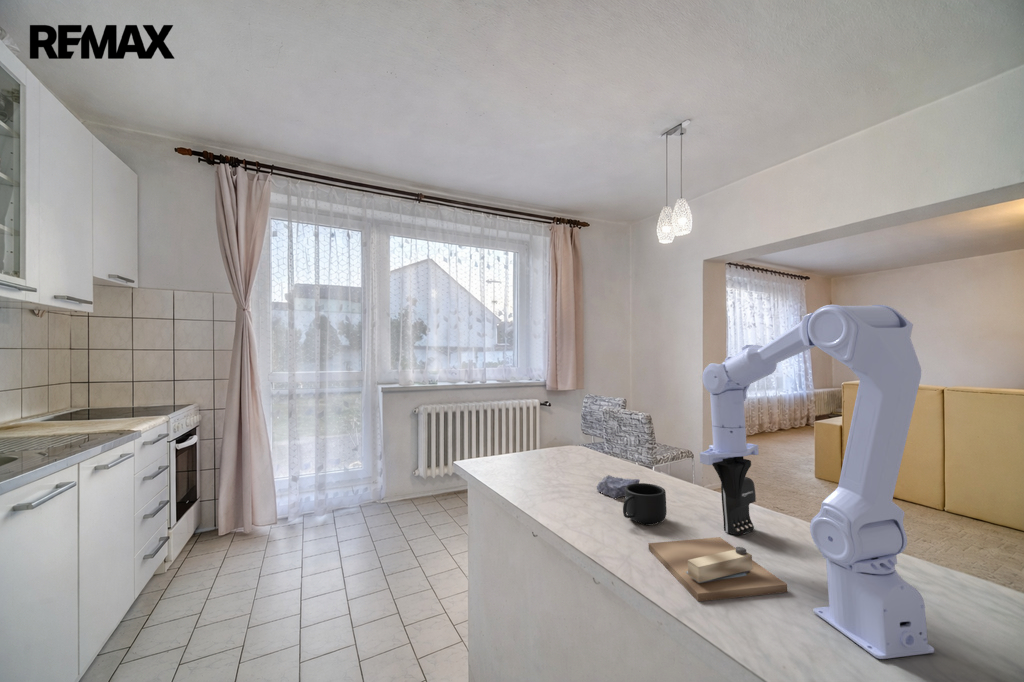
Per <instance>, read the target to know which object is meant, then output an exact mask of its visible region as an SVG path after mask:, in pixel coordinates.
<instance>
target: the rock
mask: <svg viewBox="0 0 1024 682" xmlns="http://www.w3.org/2000/svg"><path fill="white" fill-rule="evenodd" d="M640 480H641V479H639V478H634V479H631V478H622V477H618V476H617V477H615V476H612V475H610V474H608V475H606V476H604V477H603V478H602V480H601V481H599V482H598V483H597V485H596V490H597V491H599V493H600V492H602V493H603V494H602V493H601V494H602V495H607V496H609V497H611V498H612V499H614V498H617V499H619V498H621V497H625V487H626V486H628V485H630V484H636V483H641V481H640ZM618 497H619V498H618Z"/></svg>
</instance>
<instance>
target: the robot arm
mask: <svg viewBox="0 0 1024 682" xmlns="http://www.w3.org/2000/svg"><path fill="white" fill-rule="evenodd" d="M913 326H914V323H912V322H911V321H910V320H908V319H907V318H906V317H905V316H904V315H903V314H902V313H900V312H899V311H898V310H897V309H895V308H894V307H891V306H889V305H886V304H885V305H884V304H872V305H839V304H827V305H824V306H821V307H819V308H818V309H816V310H814V312H811V313H807V314H806V315H804V316H803V317H802V320H801V321H800V322H799V323H797V324H795V325H794V326H793V327H790V328H789V329H788V330H786V331H785V332H783V333H782V334H780V335H778V336H777V337H775V338H774V339H773V340H771V341H769V342H768V343H766V344H765V345H764V346H763V345H760V344H744V346H741V350H742V351H740V352H738V353H736V354H735V355H732V356H726V358H724V361H723V362H721V363H720V364H719V363H715V362H713V363H709V364H708V365H707V366H706V367H705V368H704V370H703V371H702V372H703V373H702V376H701V377H702V384H703V387H704V389H706V391H707V392H708V393H709V397H710V398H709V399H710V415H711V417H710V418H711V432H712V444H710V445H708V449H706V450H704V451H701V452H699V464H702V465H703V464H704V465H707V466H712V467H713V468H714V470H715V472H716V473H717V476H718V478H719V481H720V483H722V486H723V489H724V492H725V495H726V497H730V498H733V499H738V498H740V494H741V490H742V485H743V481H744V478H745V477H747V476H746V475H747V473H748V471H749V469H750V468H751V466H752V461H751V459H746V458H744V457H747V456H751V455H752V456H759V454H760V453H759V444H755V443H749V442H748V443H747V429H746V416H745V402H746V400H747V391H748V390H749V388H750V386H751V384H754V383H755V382H757V381H758V382H759V380H762V379H764V378H766V377H768V376H770V375H772V374H774V373H775V371H776V369H777V365H778V364H779V363H780V362H783V361H785V360H787V359H789V358H790V359H791V358H792V357H795V356H796V355H799V354H802V353H804V352H806V351H808V350H810V349H813V348H815V347H817V348H818V349H820V350H821V351H822V352H824V353H826V354H827V355H829V356H830V357H832V358H833V359H835V360H837V361H838V362H840V363H842V364H843V365H845V366H846V367H848V368H849V369H850V371H852V372H853V373H854V375H856V377H858V380H859V381H858V388H857V392H856V396H855V398H856V399H855V400H854V401H855V402H854V407H853V412H852V417H851V421H850V427H849V431H848V437H847V443H846V446H845V451H844V456H843V462H842V467H841V472H840V475H839V476H840V477H839V481H838V486H837V488H836V489H834V490H833V491H832V492H831V493H830V494H829V495H828V496H826V497H825V499H824V500H823V501H822V502H821V505H820V510H819V512H817V514H816V515H815V516H813V517H812V519H811V520H810V525H809V531H810V536H811V539H812V541H813V544H815V547H817V549H818V551H819V552H820V553H821V555H822V556H821V557H822V558H824V559H825V561H826V562H825V563H826V564H825V565H826V578H827V593H828V606H823V607H821V606H819V607H814V608H813V613H815V614H816V615H817V616H818V617H820V618H821V619H822V620H823V621H825V622H827V623H828V624H829V625H830V626H832V627H833V628H835V629H836V630H838V631H839V632H840V633H841V634H843V635H844V636H845V637H847V638H849V640H851V641H853V642H854V643H856V645H857V646H858V645H859V646H860V647H861V649H863V650H865V651H866V652H868V653H869V654H870V655H872V656H873V657H874V658H877V659H878V660H879V659H880V660H886V659H892V658H893V659H894V658H900V657H909V656H917V655H925V654H933V653H935V647H933V646H932V645H930V644H929V642H928V630H927V616H926V606H925V600H924V598H923V595H922V594H921V592H920V591H919V589H917V588H915V586H913V585H911V584H910V583H908V581H906V580H905V579H903V577H902V576H901V575H900V574H899V573H898V571H897V570H896V565H897V564H898V559H897V558H898V557H897V555H900V554H902V553H903V552H904V551H905V550H906V549H907V545H908V536H907V533H906V530H905V527H904V526H905V525H904V518H905V511H904V510H903V508H901V507H900V506H899V505H898V504H896V503H895V502H894V500H893V498H894V494H895V491H896V485H897V481H898V478H899V472H900V468H901V464H902V460H903V456H904V450H905V447H906V443H907V438H908V433H909V430H910V426H911V422H912V417H913V412H914V408H915V405H916V400H917V395H918V392H919V387H920V383H921V378H922V367H921V365H920V361H919V359H918V356H917V352H916V350H915V347H914V345H913V342H912V339H911V338H912V337H911V335H912V331H913Z"/></svg>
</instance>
